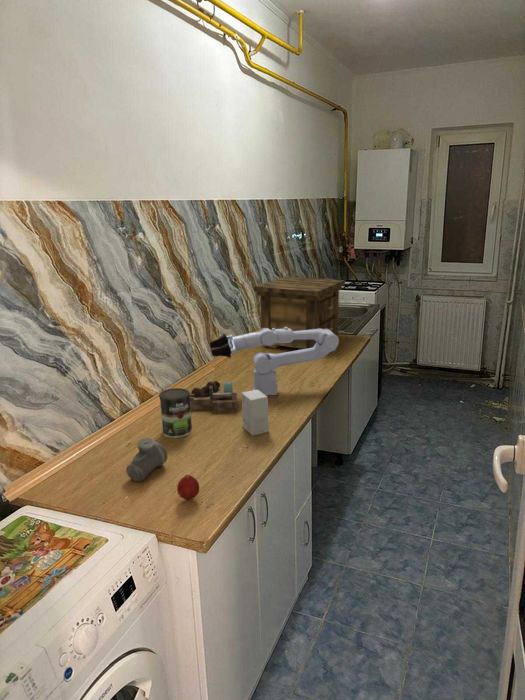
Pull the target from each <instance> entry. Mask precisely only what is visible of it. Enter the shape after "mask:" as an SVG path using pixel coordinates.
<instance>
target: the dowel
mask: <svg viewBox="0 0 525 700" xmlns="http://www.w3.org/2000/svg"><path fill="white" fill-rule="evenodd" d="M222 385H223V393H234V390H233V388H234V387H233V382H232V381H224V382H223V383H222Z"/></svg>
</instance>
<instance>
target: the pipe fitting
mask: <svg viewBox="0 0 525 700" xmlns="http://www.w3.org/2000/svg"><path fill="white" fill-rule="evenodd" d="M136 444H137V449H138V452H137V453H136V454H135V455H134V456H133V458H132V461H131V462H130V463H129V464H128V465H127V466H126V469H125V470H126V474H127V477H129V479H130V480H132V481H133V482H136V481H137V482H136V483H140V482H142V481H144V480H145V479H146V478H147V476H148V475H149V474H150V473H151V472H152V471H153V470H154V469H155V468H159V467H162V466H163V465H164V464H165V463H166V462H167V460H168V452H167V450H166V449H165V447H164V446H163V445H162V444H161V443H159V442H157V441H155V439H152V438H150V437H149V438H148V437H147V438H146V437H145V438H142V439H139V440H138V442H137V443H136Z"/></svg>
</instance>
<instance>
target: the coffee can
mask: <svg viewBox="0 0 525 700" xmlns="http://www.w3.org/2000/svg"><path fill="white" fill-rule="evenodd" d="M190 394H191V392H190V390H188V389H186V388H181V387H176V388H175V387H174V388H169V389H164V390H162V391H160V392H159V393H158V398H159V404H160V405H159V407H160V419H161V431H162V433H161V434H162V435H163V436H164V437H166V438H171V439H177V438H179V439H180V438H184V437H187V436H189V435H190V434H191V433H192V432H193V426H192V413H191V411H192V410H191V409H190Z"/></svg>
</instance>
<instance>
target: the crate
mask: <svg viewBox="0 0 525 700" xmlns="http://www.w3.org/2000/svg"><path fill="white" fill-rule="evenodd" d="M344 285H346V280H344V279H331V278H317V277H304V276H303V277H301V276H287V275H286V276H284V277H280V278H276V279H274V280H270V281H268V282H265V283H261V284H258V285H255V286H253V292H257V293H256V294H257V297H258V296H259V297H260V323H261V324H260V326H261V328H260V330H261V329H263V328H268V329H270V330H272V328H275V329H284V327H287V328H290V329H291V330H292V331H301V330H312V329H329V330H331V331H332V333H334V334H335V335H336V336H337V337H339V306H340V305H339V304H340V303H339V299H340V296H339V295H340V294H339V293H340V291H341V290H342V289H343V286H344ZM315 343H316V341H315V340H313V339H294V340H293V341H292V342H291V343H274V344H273V345H271V346H267V348H269V349H277V348H279V347H281V346H282V347H289V348H293V349H294V348H295V349H301V350H302V349H308V348H313V347H314V345H315Z"/></svg>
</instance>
